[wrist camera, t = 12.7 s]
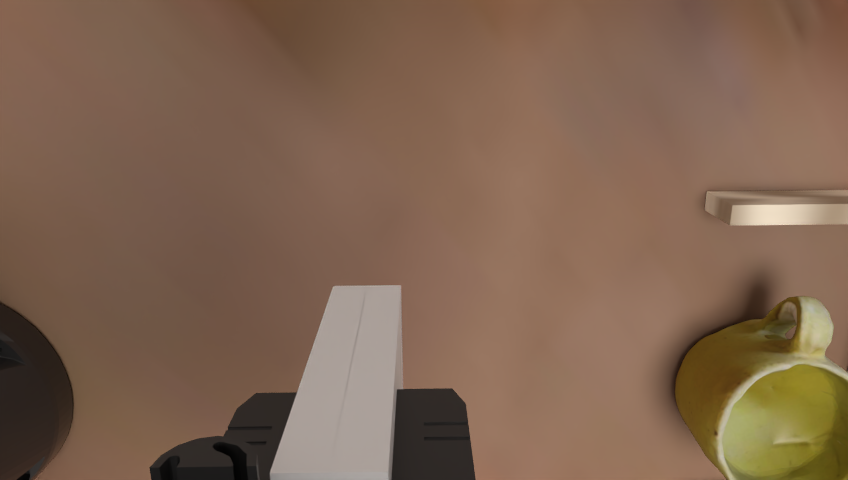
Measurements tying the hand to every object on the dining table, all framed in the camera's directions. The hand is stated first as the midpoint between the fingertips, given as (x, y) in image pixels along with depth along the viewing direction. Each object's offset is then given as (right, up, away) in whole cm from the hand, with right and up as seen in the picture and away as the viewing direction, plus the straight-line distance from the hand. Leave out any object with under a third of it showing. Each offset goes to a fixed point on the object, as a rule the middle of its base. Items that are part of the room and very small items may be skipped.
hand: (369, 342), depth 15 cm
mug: (+22, -5, +30) cm, 38 cm away
